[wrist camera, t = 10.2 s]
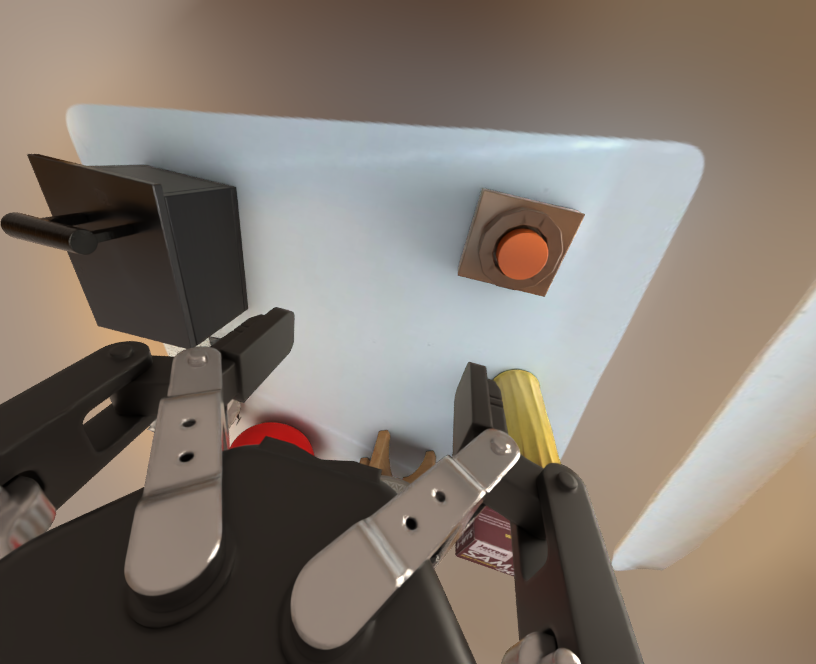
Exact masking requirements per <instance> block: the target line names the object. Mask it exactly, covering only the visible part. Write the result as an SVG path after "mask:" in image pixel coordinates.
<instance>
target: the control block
mask: <svg viewBox="0 0 816 664" xmlns="http://www.w3.org/2000/svg"><path fill="white" fill-rule="evenodd" d="M584 216H585V214H583V213H581V212H579V211H577V210H573V209H569V208H565V207H560V206H556V205H552V204H548V203H544V202H540V201H535V200H531V199H527V198H523V197H519V196H514V195H510V194H506V193H502V192H498V191H494V190H489V189H485V188H482V190H481V193H480V196H479V200H478V203H477V206H476V210H475V213H474V216H473V220H472V223H471V226H470V229H469V233H468V236H467V239H466V243H465V246H464V249H463V253H462V256H461V259H460V262H459V266H458V276H462V277H466V278H470V279H474V280H479V281H483V282H487V283H491V284H495V285H496V286H500V287H504V288H508V289H512V290H519V291H523V292H527V293H531V294H535V295H539V296H543V297H545V295H546V293H547V291H548V289H549V287H550V285H551V283H552V281H553V279H554V277H555V275H556V273H557V271H558V269H559V267H560V265H561V263H562V261H563V259H564V257H565V255H566V253H567V251H568V249H569V247H570V244H571V242H572V240H573V238H574V236H575V234H576V232H577V230H578V228H579V226H580V224H581V222H582V220H583V218H584ZM521 228H525V229H530V230H533V231H534V232H536V233H537V234H538V235H539V236H540V237H541V238H542V239H543V240H544V241H545V243H546V244H547V247H548V258H547V261H546V263H545V265H544V267H543V268H542V269H541V270H540V271H539V272H538V273H537V274H536V275H534V276H532V277H530V278H527V279H521V280H518V279H512V278H510V277H508V276H506V275H505V274H504V273H503V272H502V271H501V269H500V267H499V264H498V262H497V258H496V250H497V246H498V244H499V242H500V240H501V239H502V238H503V237H504V236H505V235H506V234H507V233H509V232H511V231H513V230H516V229H521Z"/></svg>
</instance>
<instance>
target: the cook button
mask: <svg viewBox="0 0 816 664" xmlns="http://www.w3.org/2000/svg"><path fill="white" fill-rule="evenodd" d="M496 258H497V262H498V264H499V267H500V269H501V271H502V272H503V273H504V274H505V275H506V276H508V277H510V278H512V279H518V280H521V279H527V278H530V277H532V276H534V275H536V274H537V273H538V272H539V271H540V270H541V269H542V268H543V267H544V265H545V263H546V261H547V258H548V247H547V244H546V243H545V241H544V240H543V239H542V238H541V237H540V236H539V235H538V234H537V233H536V232H534V231H533V230H530V229H525V228H521V229H516V230H513V231H511V232H509V233H507V234H506V235H505V236H504V237H503V238H502V239H501V240H500V242H499V244H498V246H497V250H496Z"/></svg>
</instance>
